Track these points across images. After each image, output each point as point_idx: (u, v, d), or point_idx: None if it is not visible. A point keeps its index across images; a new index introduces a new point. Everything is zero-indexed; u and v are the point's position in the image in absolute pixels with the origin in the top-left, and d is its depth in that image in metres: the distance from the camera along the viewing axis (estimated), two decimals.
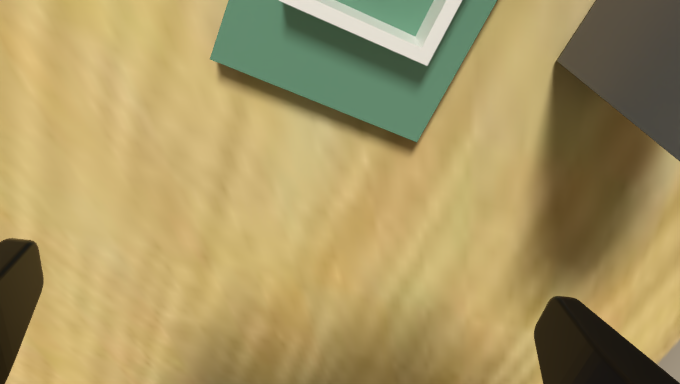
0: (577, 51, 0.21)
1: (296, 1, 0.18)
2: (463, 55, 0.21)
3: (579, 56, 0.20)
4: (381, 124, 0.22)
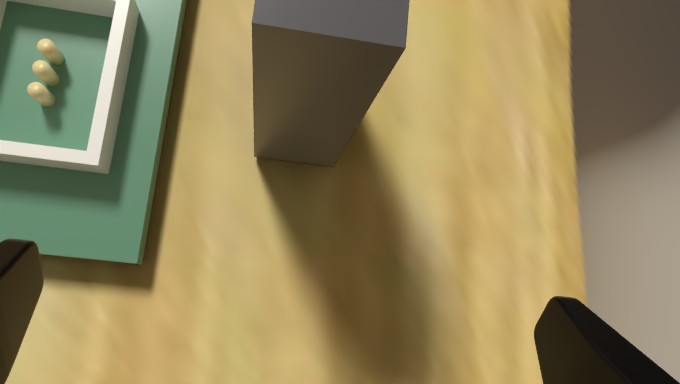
0: None
1: None
2: (151, 164, 0.22)
3: None
4: (91, 254, 0.21)
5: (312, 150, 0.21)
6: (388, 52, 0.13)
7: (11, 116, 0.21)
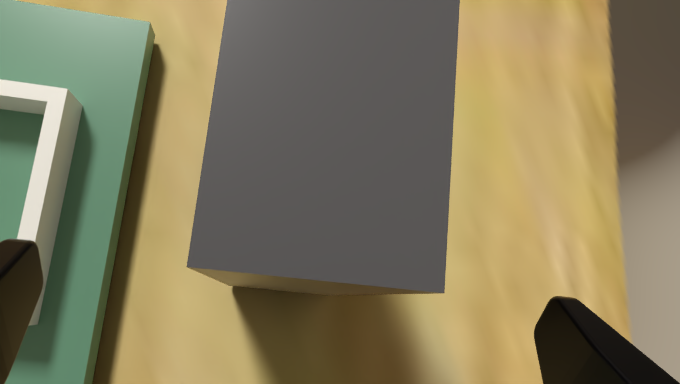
0: None
1: None
2: (93, 309, 0.17)
3: None
4: None
5: (301, 291, 0.17)
6: (414, 290, 0.08)
7: None
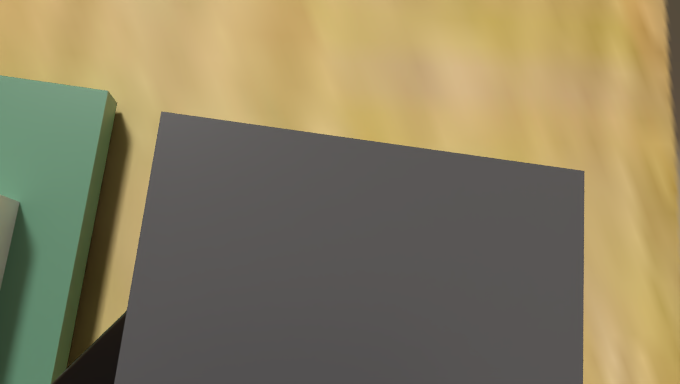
0: None
1: None
2: None
3: None
4: None
5: None
6: None
7: None
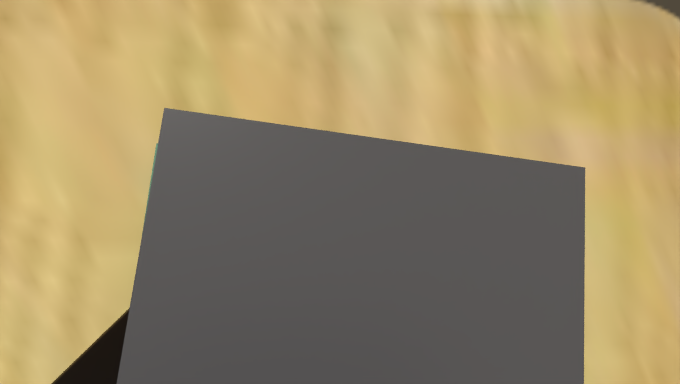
0: None
1: None
2: None
3: None
4: None
5: None
6: None
7: None
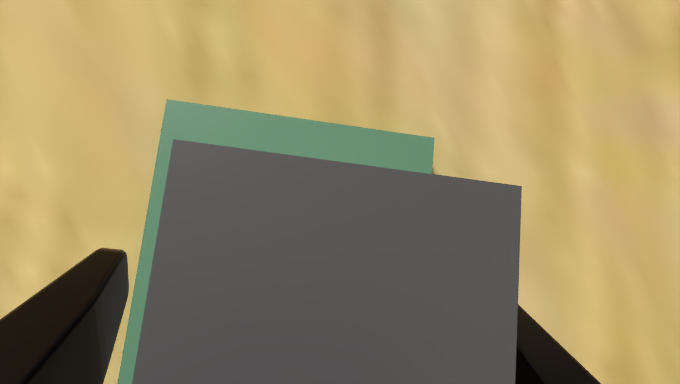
0: None
1: None
2: None
3: None
4: None
5: None
6: None
7: None
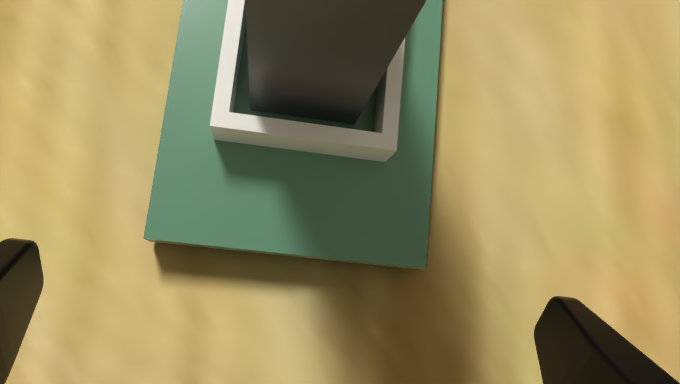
0: None
1: (229, 121, 0.16)
2: (430, 150, 0.18)
3: None
4: (374, 258, 0.17)
5: (329, 95, 0.16)
6: None
7: None
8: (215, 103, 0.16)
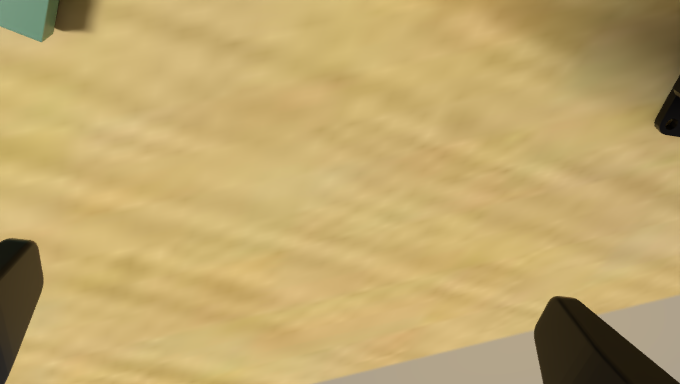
0: None
1: None
2: None
3: None
4: None
5: None
6: None
7: None
8: None
